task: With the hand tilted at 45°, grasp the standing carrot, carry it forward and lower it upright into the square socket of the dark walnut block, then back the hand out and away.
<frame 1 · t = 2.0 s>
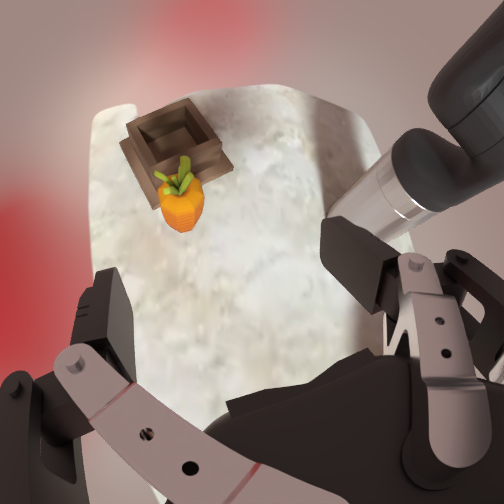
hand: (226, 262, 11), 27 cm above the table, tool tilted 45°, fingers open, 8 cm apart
carrot: (184, 228, 38), on the table
socket block: (173, 156, 41), on the table
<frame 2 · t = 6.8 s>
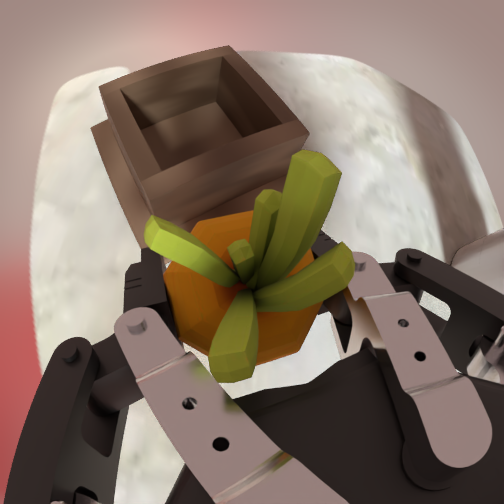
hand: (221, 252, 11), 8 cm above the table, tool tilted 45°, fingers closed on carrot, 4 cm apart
carrot: (219, 313, 18), on the table, touching gripper
socket block: (194, 156, 21), on the table
when the fingers open (10 cm above the table, at t = 12.4 s): carrot drops 1 cm, resting on socket block.
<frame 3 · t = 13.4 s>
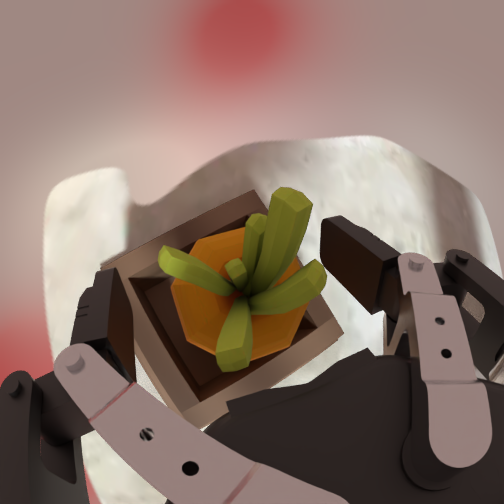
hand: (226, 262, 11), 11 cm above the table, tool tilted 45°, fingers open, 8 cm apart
carrot: (220, 314, 20), point 1 cm above the table, touching socket block
socket block: (216, 313, 21), on the table
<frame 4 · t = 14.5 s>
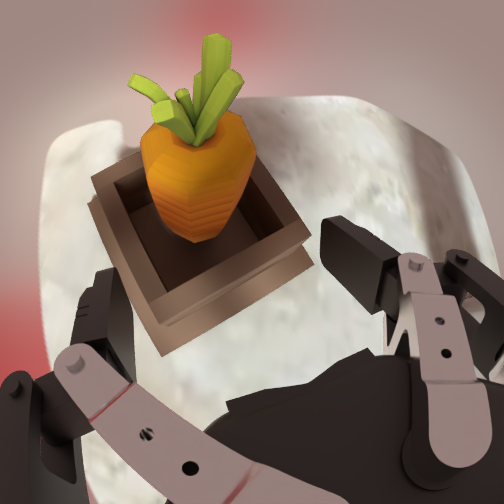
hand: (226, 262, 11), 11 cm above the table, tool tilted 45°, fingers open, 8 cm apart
carrot: (198, 234, 21), point 1 cm above the table, touching socket block
socket block: (195, 236, 22), on the table
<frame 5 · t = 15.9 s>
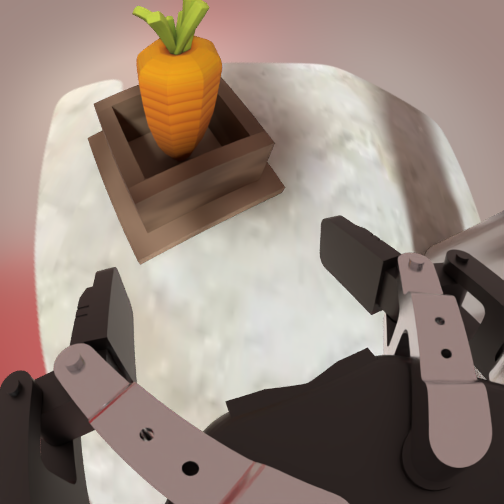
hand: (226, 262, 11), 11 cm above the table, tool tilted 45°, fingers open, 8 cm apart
carrot: (180, 159, 23), point 1 cm above the table, touching socket block
socket block: (178, 163, 24), on the table
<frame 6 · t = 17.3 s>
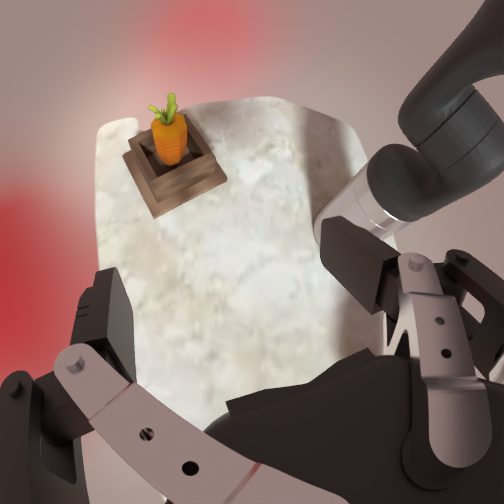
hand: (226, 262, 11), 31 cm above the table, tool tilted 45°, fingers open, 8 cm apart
carrot: (173, 166, 44), point 1 cm above the table, touching socket block
socket block: (172, 168, 45), on the table
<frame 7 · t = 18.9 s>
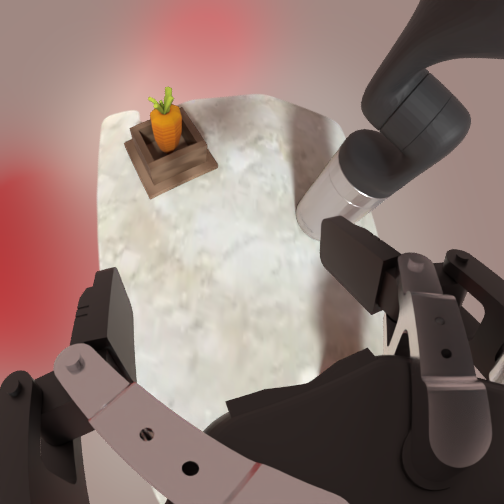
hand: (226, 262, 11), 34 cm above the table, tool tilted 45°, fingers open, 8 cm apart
carrot: (169, 154, 48), point 1 cm above the table, touching socket block
socket block: (169, 155, 49), on the table
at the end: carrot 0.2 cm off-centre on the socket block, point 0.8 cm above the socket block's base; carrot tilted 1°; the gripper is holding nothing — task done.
